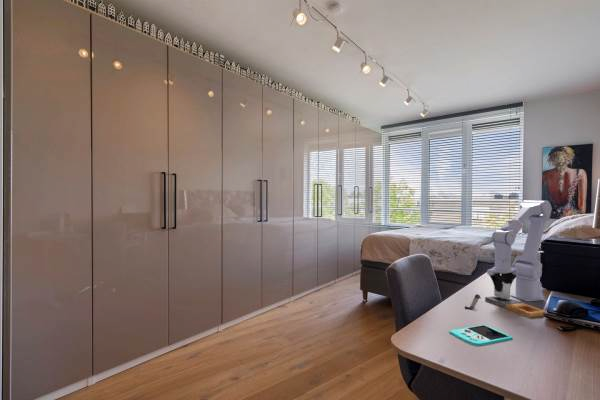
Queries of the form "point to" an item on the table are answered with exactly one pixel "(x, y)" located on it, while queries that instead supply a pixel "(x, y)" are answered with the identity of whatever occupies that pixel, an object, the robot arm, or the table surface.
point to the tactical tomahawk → (473, 302)
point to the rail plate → (516, 306)
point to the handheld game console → (480, 335)
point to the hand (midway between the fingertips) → (502, 290)
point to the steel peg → (503, 291)
